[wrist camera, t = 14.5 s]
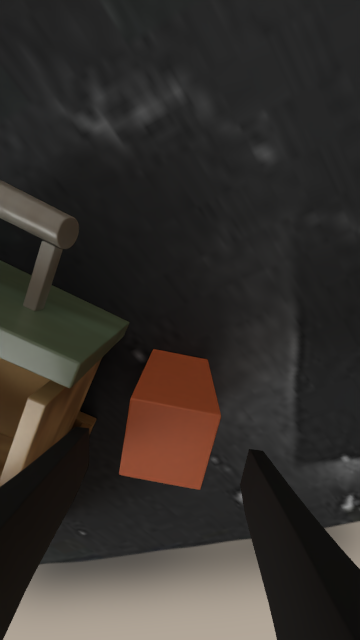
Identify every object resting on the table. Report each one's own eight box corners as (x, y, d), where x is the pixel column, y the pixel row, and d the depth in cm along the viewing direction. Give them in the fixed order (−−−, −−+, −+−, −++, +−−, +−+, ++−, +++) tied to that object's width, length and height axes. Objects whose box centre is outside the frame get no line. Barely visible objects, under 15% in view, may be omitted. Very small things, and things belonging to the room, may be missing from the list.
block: (152, 348, 14) (130, 398, 9) (208, 359, 15) (222, 416, 9) (144, 399, 16) (118, 475, 10) (195, 409, 16) (200, 491, 10)
